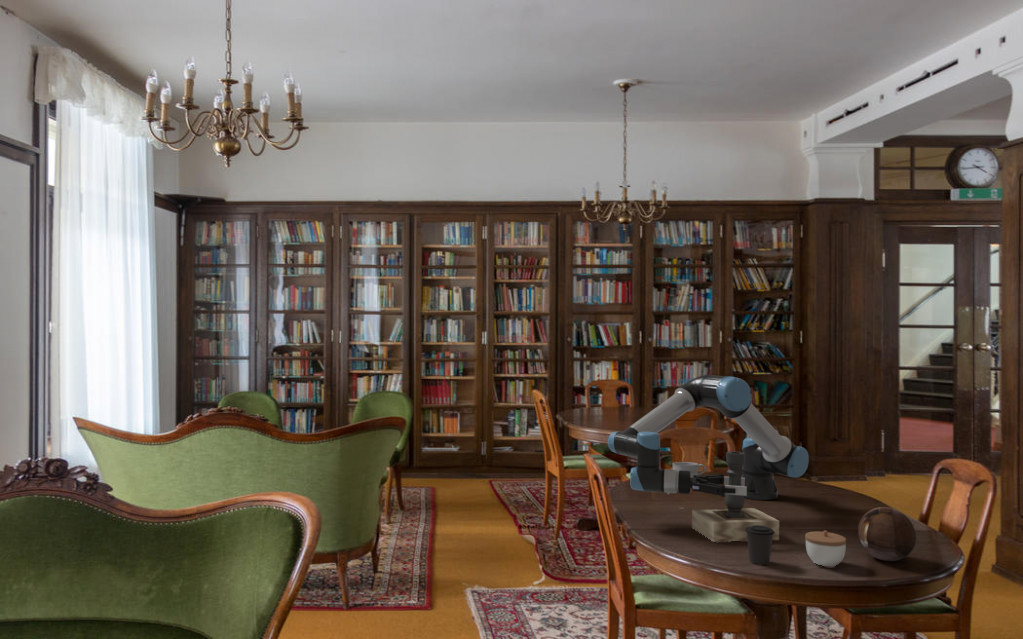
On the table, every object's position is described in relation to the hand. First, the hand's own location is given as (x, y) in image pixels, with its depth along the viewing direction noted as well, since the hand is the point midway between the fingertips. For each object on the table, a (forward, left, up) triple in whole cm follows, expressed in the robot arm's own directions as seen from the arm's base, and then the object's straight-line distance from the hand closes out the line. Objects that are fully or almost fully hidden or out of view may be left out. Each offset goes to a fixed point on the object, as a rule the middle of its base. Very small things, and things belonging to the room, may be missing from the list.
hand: (745, 486), depth 236 cm
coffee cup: (+9, +26, -16) cm, 31 cm away
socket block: (+3, -1, -15) cm, 16 cm away
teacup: (-14, -76, -16) cm, 79 cm away
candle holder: (+3, -1, -15) cm, 15 cm away
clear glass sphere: (-29, +29, -16) cm, 44 cm away
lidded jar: (-9, +30, -16) cm, 35 cm away
